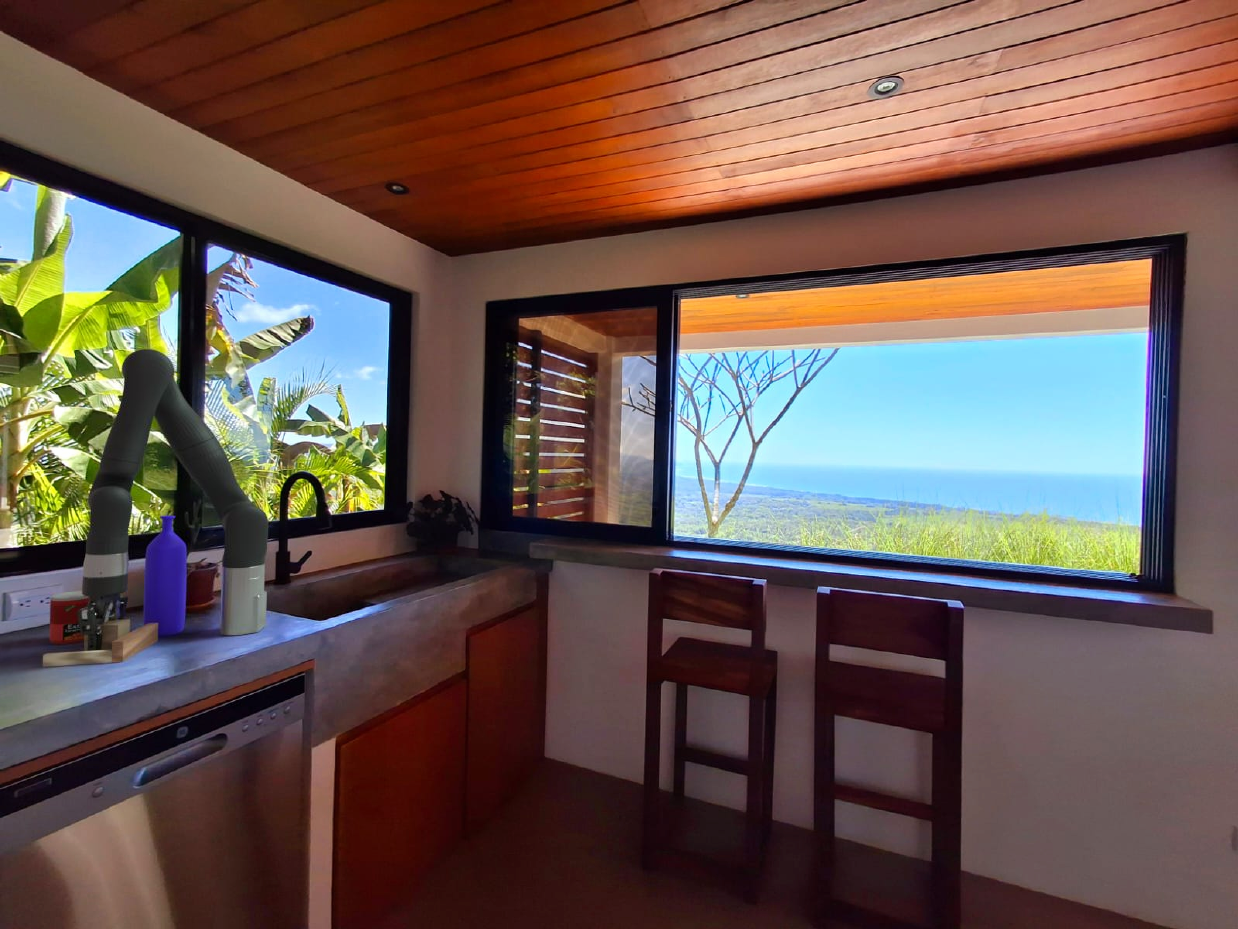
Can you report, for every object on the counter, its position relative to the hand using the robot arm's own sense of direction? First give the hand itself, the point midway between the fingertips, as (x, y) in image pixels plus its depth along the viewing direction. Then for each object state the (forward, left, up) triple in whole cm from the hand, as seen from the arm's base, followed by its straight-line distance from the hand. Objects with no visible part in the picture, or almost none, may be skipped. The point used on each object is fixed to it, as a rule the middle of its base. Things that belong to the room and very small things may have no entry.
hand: (101, 647), depth 122 cm
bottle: (-5, -15, -2) cm, 16 cm away
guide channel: (0, 0, -1) cm, 2 cm away
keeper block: (-1, 0, -1) cm, 2 cm away
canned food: (+13, -13, -2) cm, 18 cm away
